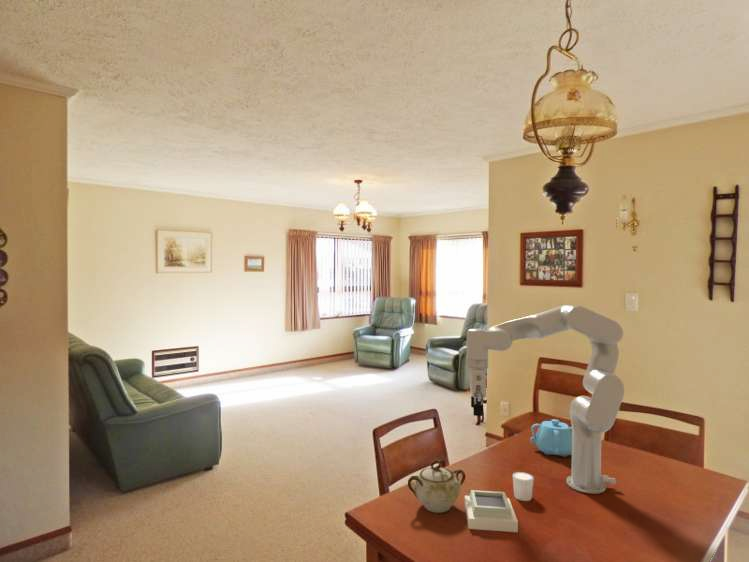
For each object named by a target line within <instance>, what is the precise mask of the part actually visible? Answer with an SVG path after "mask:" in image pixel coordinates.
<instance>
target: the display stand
mask: <svg viewBox="0 0 749 562" xmlns="http://www.w3.org/2000/svg"><path fill="white" fill-rule="evenodd" d="M464 508H465V514H466V521H467V526H468V529H469V530H479V531H480V530H481V531H495V532H496V531H497V532H506V533H507V532H508V533H509V532H510V533H518V532H519V521H518V518H517V516H516V513H515V510H514V508H513V506H512V503H511V499H510V498H509V497H507V495H506V492H505V491H492V490H479V489H477V490H474V489H470V493H469V495H464Z"/></svg>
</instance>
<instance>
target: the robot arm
mask: <svg viewBox="0 0 749 562" xmlns="http://www.w3.org/2000/svg"><path fill="white" fill-rule="evenodd" d="M568 330H573V331H575V332H578V333H580V334H582V335H584V336H585V337H587V339H588V340H589V342H590V345H591V354H590V359H589V361H588V365H587V367H586V369H585V373H584V376H583V379H582V386H583V388H584V389H585V391H587V392H588V393H590V394H591V397H590V396H587V395H579V396H576V397H575V398H573V399H572V400H571V403H570V406H569V415H570V424H571V427H572V430H571V432H572V454H571V461H570V463H571V469H570V470H571V472H570V474H571V475H569V476H567V477H566V484H567V485H568V487H570V488H571V489H573V490H574V491H578V492H581V493H585V494H591V495H593V494H594V495H599V494H602V493H604V492H605V491H606V488H607V486H606V484H611V485H616V482H617V481H616V478H615V477H610V476H609V475H606V474H602V434H605V433H606V432H607V431H610V429H612V427H613V425H614V423H615V422H616V419H617V416H618V413H619V410H620V408H621V405H622V402H623V399H624V395H625V394H624V393H625V387H624V383H623V381H622V380H621V378H620V377H619V376H617V375H616V374H615V371H616V369H617V365H618V361H619V355H620V354H619V352H620V351H619V345H618V343H620V341H621V340H622V339H623V336H624V330H623V328H622V326H621V325H620V323H618V321H616V320H613V319H611V318H609V317H606V316H604V315H603V314H599V313H598V312H595V311H593V310H591V309H588V308H587V307H584V306H582V305H576V304H564V305H560V306H558V307H555V308H554V307H553V308H551V309H548V310H545V311H543V312H539V313H535V314H532V315H528V316H525V317H521V318H518V319H517V318H516V319H513V320H509V321H505V322H503V323H500V324H496V325H493V326H491V327H489V328H488V329H484V328H470V329H468V330H467V332H466V368H467V369H469V388H470V389H469V390H470V395H471V397H470V406H471V408H473V416H474V417H475V416H476V417H483V416H484V402H483V400H484V399H483V398H487V378H486V377H487V375H486V370H488V369H489V350H491V351H498V352H500V351H501V352H504V351H508V350H509V349H510V348H511V347H512V344H513V342H514V341H518V340H525V339H527V340H528V339H531V340H533V339H534V340H535V339H544V338H547V337H549V336H552V335H555V334H558V333H561V332H564V331H568Z"/></svg>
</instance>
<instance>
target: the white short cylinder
mask: <svg viewBox="0 0 749 562" xmlns="http://www.w3.org/2000/svg"><path fill="white" fill-rule="evenodd" d="M534 478H535V477H534V476H533V475H532V474H530V473H527V472H524V471H523V472H522V471H517V472H514V473H512V486H513V495H514V496H513V497H514V498H515V499H517V500H519V501H521V502H522V501H524V502H529V501H531V500H532V498H533V489H534Z"/></svg>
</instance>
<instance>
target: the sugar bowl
mask: <svg viewBox="0 0 749 562" xmlns="http://www.w3.org/2000/svg"><path fill="white" fill-rule="evenodd" d="M435 464H438V465H437V466H434V465H435ZM459 474H461V475H462V477H461V481H460V480H459V479H460V478H459ZM465 480H466V473H465V471H464V470H462V469H458V470H457V469H456V470H453V471H452V470H449V469H447V468H445V467H442V462H441V461H440V460H437V459H434V460H433V461H432V462H431V464H430V467H427V468H424V469H422V470H421V471H420V472H419V473H418V474H417V475H412V476H411V475H410V477H408V480H407V486H408V489H409V490H410V491H411V492H412V493H413V495H414V496H415V497H416V498H417V499H418V500H419V502H421V504H422V505H423V506H424V508H425V509H426V510H427V511H429V512H432V513H438V514H440V513H446V512H448V511H449V510H450V509H451V507H452V506H453V505H454V503H455V502H456V501H457V500H458V498H459V496H460V493H461V489H462V485H463V484H464V482H465ZM413 481H414V482H413ZM412 482H413V487H412Z"/></svg>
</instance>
